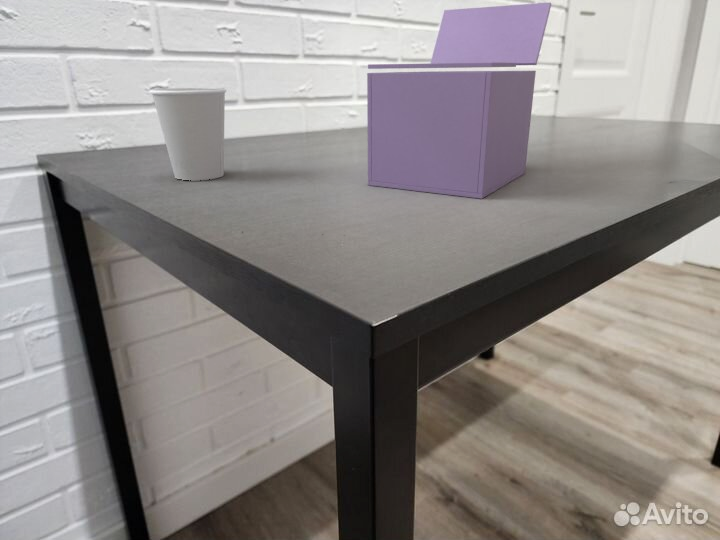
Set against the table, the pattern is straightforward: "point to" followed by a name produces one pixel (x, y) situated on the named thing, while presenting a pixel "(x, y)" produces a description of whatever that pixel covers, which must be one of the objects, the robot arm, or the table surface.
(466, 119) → the box
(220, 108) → the dixie cup
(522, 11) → the box lid
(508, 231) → the table surface
